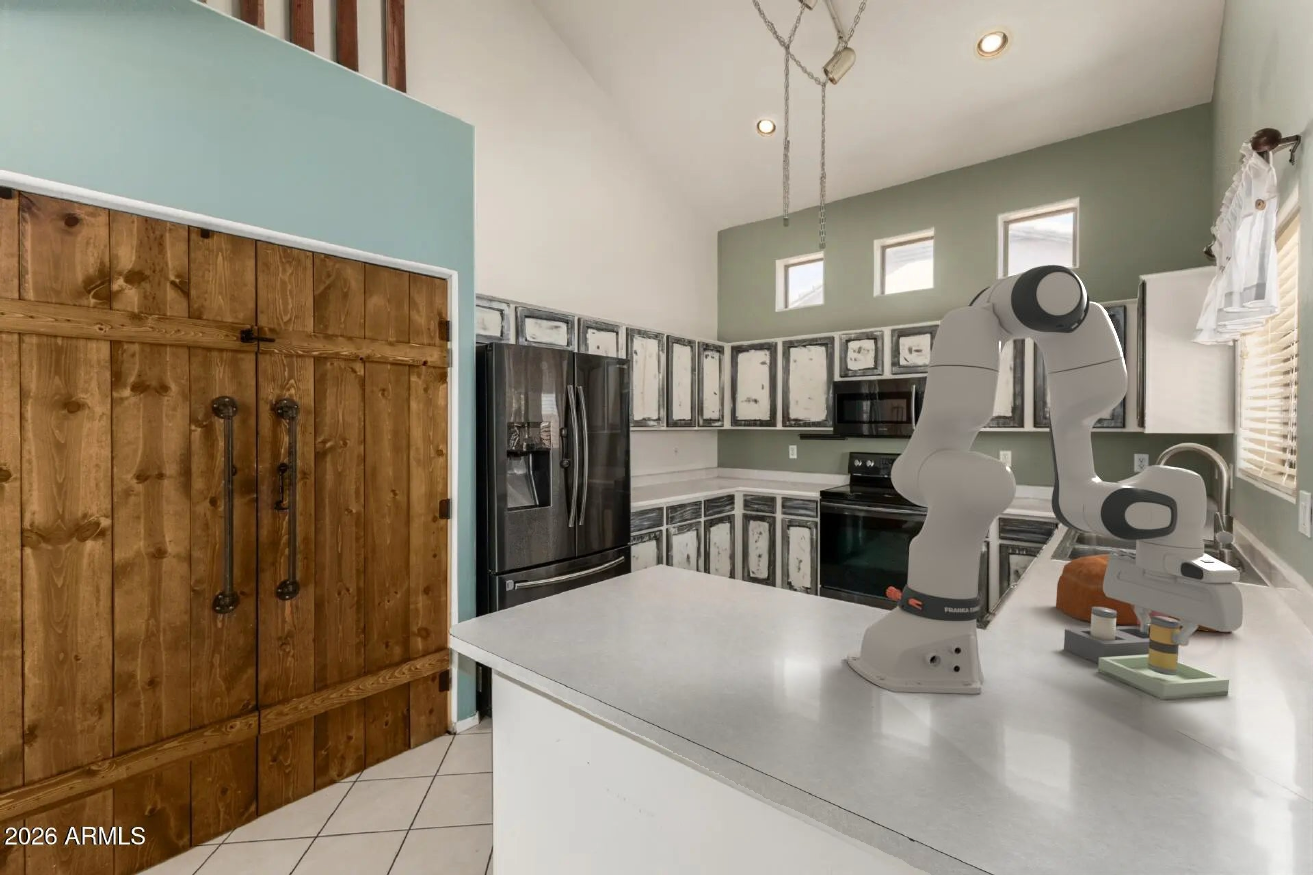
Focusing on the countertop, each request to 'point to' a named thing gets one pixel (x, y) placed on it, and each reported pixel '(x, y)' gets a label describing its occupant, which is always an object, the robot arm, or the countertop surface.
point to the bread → (1092, 592)
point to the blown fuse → (1163, 645)
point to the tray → (1163, 678)
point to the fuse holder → (1107, 643)
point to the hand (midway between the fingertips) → (1163, 638)
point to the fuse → (1103, 623)
